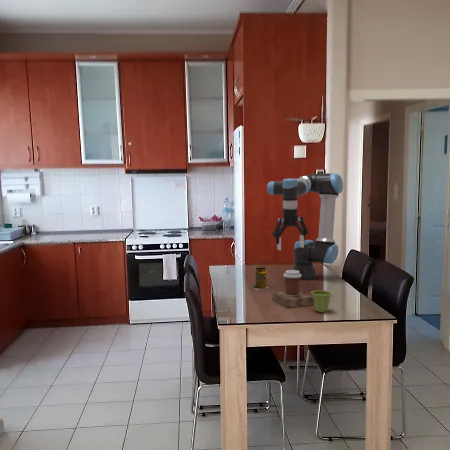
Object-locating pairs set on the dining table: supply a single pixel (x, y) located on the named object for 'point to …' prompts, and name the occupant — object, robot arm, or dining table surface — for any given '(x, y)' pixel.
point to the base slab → (293, 299)
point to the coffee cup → (292, 282)
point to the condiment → (260, 278)
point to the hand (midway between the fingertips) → (290, 248)
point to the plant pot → (321, 300)
